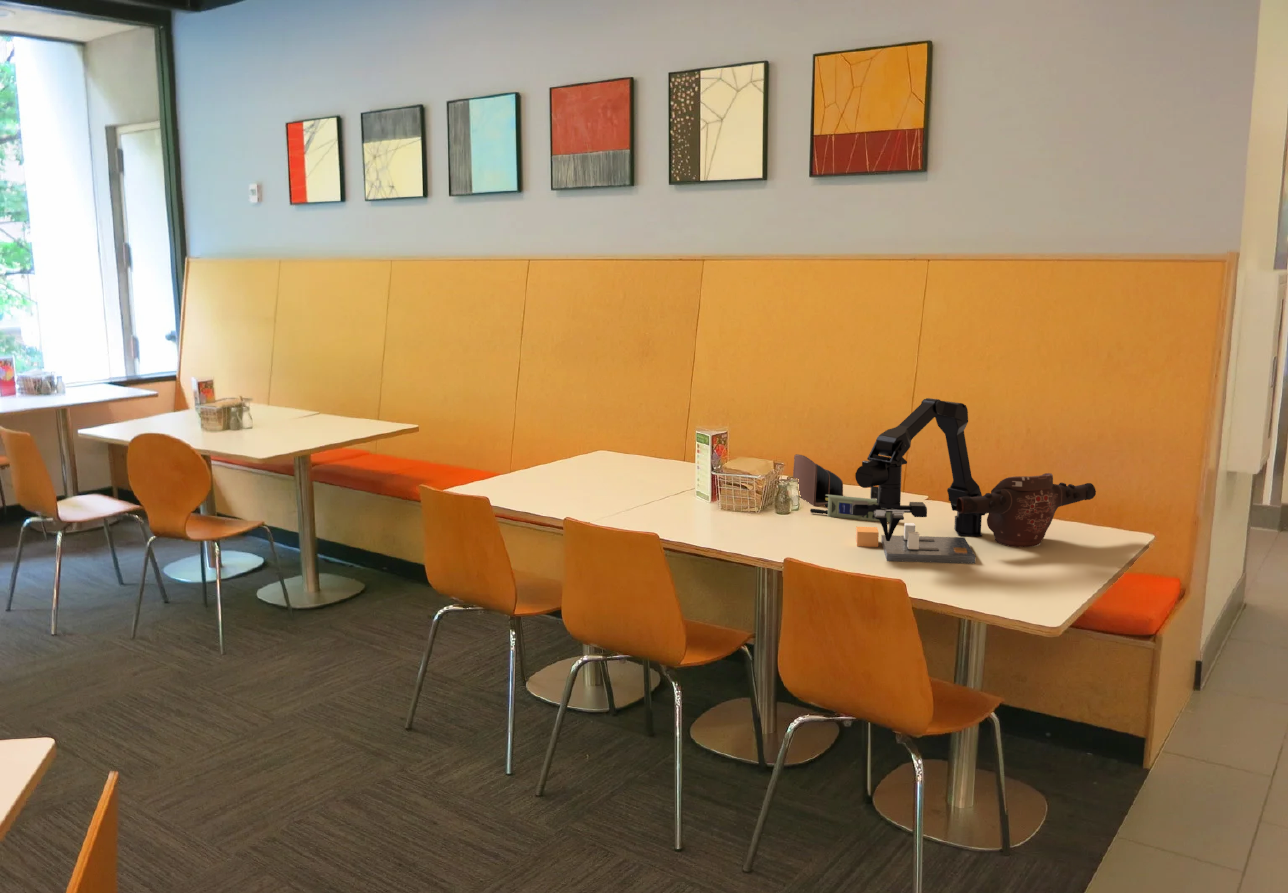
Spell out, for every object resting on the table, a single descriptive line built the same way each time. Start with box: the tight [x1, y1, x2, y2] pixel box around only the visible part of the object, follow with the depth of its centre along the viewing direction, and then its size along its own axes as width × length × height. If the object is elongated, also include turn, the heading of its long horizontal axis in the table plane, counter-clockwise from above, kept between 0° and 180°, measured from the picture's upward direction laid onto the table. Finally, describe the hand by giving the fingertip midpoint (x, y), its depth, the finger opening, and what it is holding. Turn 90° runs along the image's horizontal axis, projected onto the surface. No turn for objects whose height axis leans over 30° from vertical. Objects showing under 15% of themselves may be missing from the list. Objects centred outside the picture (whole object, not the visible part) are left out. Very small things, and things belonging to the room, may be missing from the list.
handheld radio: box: [809, 495, 892, 522], centre depth 314 cm, size 7×3×25 cm
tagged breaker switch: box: [907, 531, 920, 549], centre depth 274 cm, size 3×3×4 cm
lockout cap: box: [855, 526, 879, 548], centre depth 286 cm, size 6×6×4 cm
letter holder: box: [792, 454, 844, 507], centre depth 339 cm, size 10×20×14 cm, turn 12°
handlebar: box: [956, 472, 1097, 548], centre depth 283 cm, size 45×13×20 cm, turn 111°
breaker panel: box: [880, 534, 976, 565], centre depth 277 cm, size 22×18×2 cm
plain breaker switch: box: [903, 522, 916, 540], centre depth 282 cm, size 3×3×4 cm
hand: (887, 540), depth 275 cm, fingers closed
